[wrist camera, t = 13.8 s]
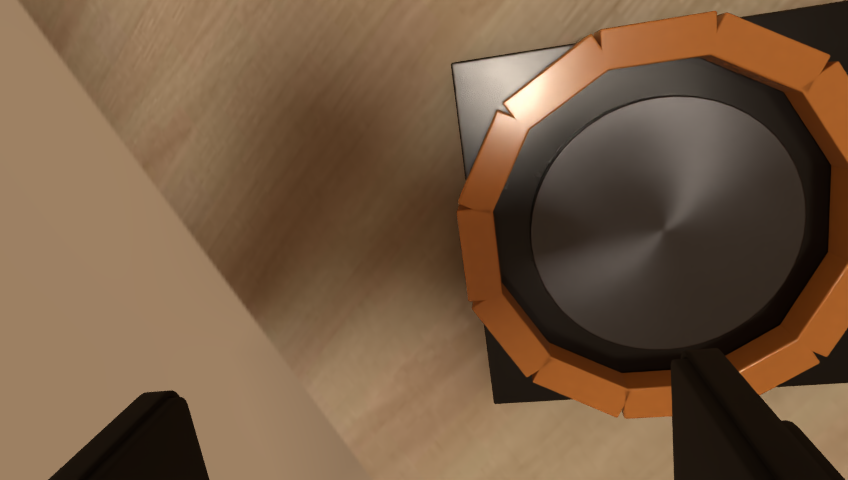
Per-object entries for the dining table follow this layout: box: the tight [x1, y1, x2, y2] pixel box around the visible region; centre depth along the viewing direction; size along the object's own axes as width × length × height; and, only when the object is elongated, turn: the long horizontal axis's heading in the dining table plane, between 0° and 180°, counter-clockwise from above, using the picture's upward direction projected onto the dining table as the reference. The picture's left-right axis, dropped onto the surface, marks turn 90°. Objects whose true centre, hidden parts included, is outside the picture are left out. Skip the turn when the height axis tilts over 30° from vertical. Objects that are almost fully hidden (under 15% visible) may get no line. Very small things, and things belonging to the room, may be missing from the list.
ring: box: [457, 11, 848, 419], centre depth 23 cm, size 16×16×2 cm
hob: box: [451, 1, 848, 404], centre depth 24 cm, size 16×16×2 cm
